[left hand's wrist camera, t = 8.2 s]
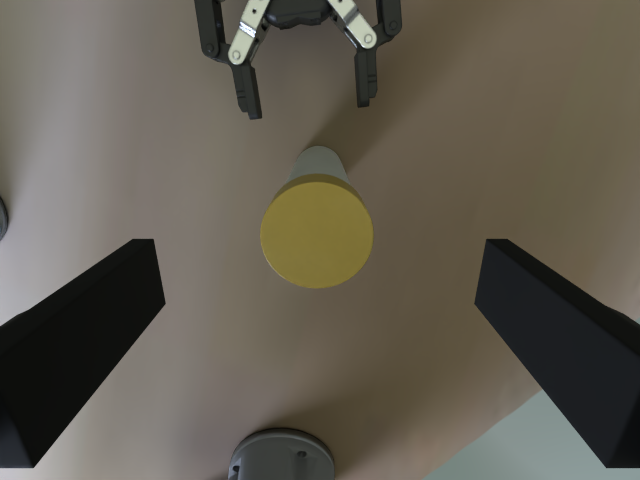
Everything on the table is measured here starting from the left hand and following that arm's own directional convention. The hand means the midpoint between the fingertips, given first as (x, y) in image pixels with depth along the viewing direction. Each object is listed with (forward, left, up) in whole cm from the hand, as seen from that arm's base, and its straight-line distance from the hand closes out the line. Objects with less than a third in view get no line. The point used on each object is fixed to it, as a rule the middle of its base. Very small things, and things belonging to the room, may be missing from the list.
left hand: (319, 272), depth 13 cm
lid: (0, 0, -4) cm, 4 cm away
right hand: (+1, +6, -17) cm, 18 cm away
